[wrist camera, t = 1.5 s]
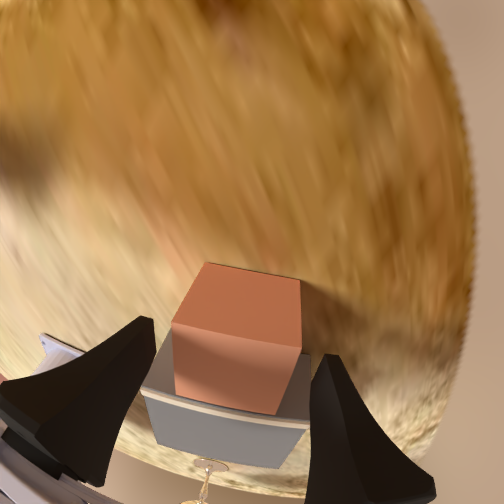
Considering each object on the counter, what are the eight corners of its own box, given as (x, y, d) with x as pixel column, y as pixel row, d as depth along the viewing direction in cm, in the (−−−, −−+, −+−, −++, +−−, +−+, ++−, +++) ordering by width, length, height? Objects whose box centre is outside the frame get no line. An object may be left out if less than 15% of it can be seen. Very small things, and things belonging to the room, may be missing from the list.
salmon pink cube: (280, 348, 17) (275, 415, 12) (200, 332, 17) (175, 394, 12) (299, 280, 14) (302, 348, 10) (205, 262, 15) (171, 321, 10)
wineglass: (234, 475, 28) (219, 549, 18) (192, 468, 29) (172, 538, 18) (231, 461, 26) (212, 546, 15) (184, 453, 27) (159, 533, 16)
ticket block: (282, 417, 20) (278, 471, 16) (175, 395, 21) (156, 445, 16) (310, 354, 17) (312, 423, 12) (171, 327, 17) (139, 387, 13)
